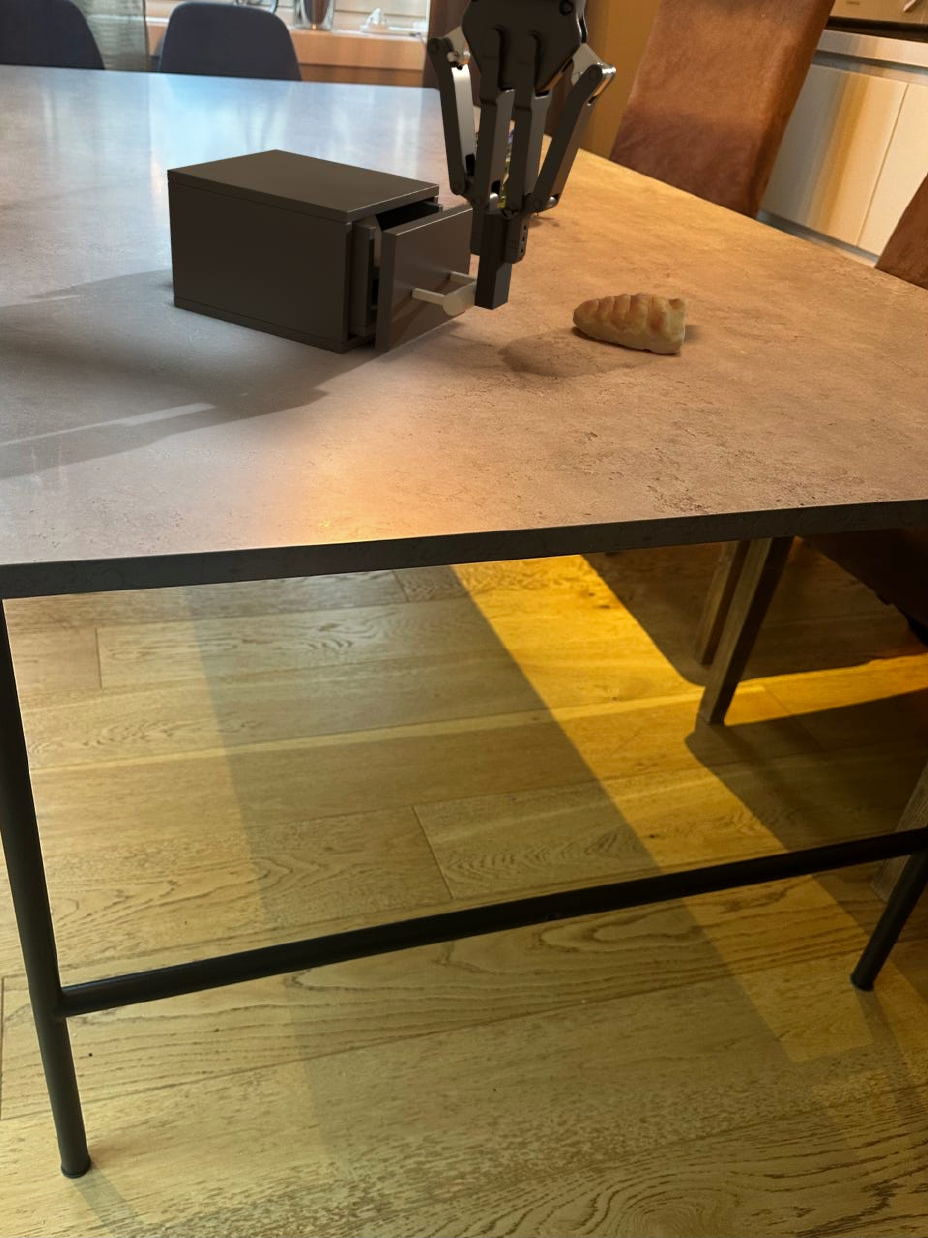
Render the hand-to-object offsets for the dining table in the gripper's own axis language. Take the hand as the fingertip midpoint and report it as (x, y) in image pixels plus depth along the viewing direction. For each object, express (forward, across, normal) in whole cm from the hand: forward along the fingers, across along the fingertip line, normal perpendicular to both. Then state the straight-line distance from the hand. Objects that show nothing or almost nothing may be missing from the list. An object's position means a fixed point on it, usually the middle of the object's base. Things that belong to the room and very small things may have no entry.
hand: (491, 303), depth 77 cm
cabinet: (+4, -16, 0) cm, 17 cm away
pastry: (+4, +8, +13) cm, 16 cm away
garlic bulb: (+2, -12, 0) cm, 12 cm away
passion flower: (+4, -19, +45) cm, 49 cm away
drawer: (+3, -10, 0) cm, 11 cm away
